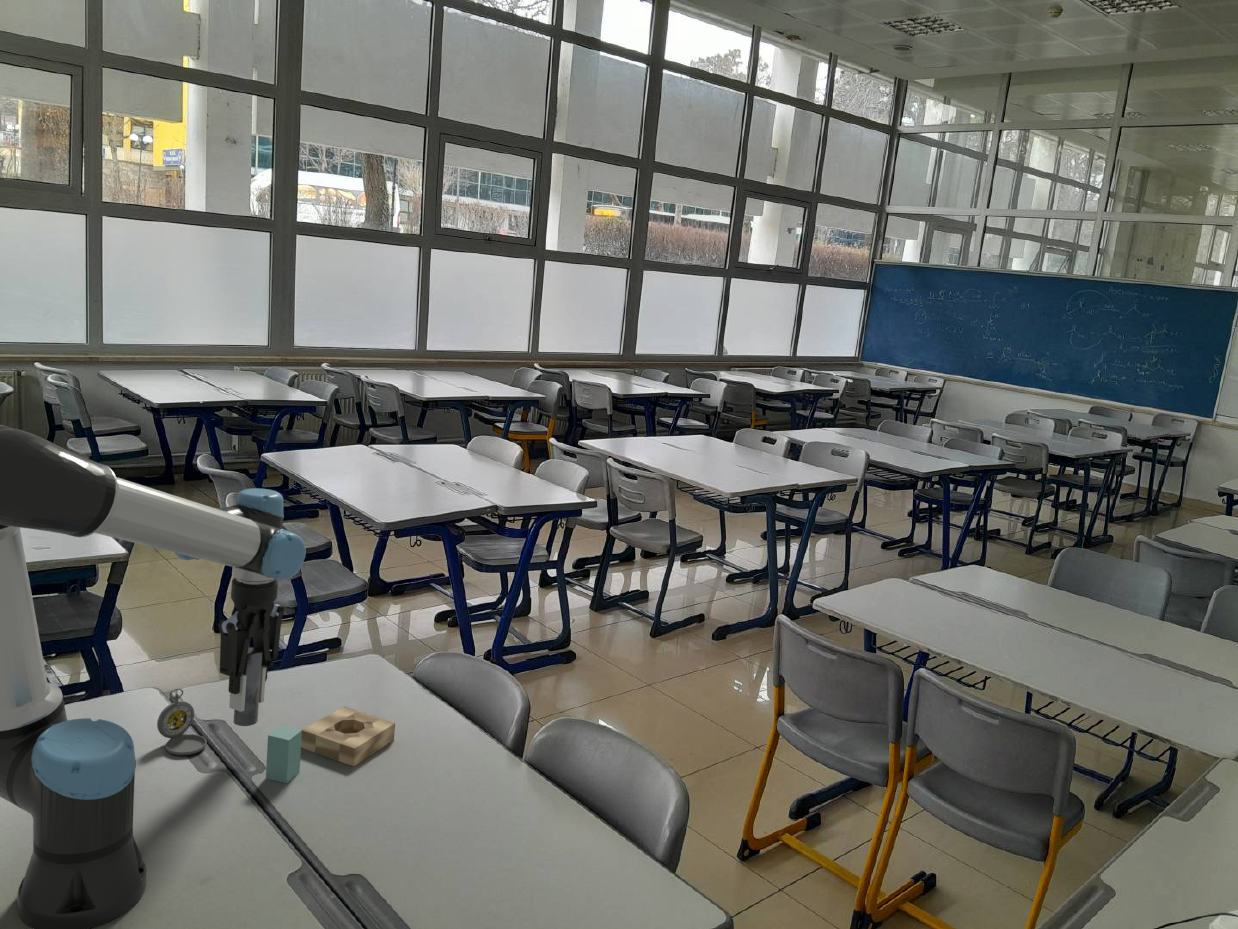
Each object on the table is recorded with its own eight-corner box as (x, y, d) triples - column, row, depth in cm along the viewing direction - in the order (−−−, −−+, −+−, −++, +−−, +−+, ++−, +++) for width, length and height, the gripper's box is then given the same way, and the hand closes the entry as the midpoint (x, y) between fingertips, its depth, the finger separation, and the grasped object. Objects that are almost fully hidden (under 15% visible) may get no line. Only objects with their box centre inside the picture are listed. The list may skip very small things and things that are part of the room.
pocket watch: (195, 759, 162) (197, 706, 160) (148, 754, 162) (149, 701, 160) (216, 737, 170) (218, 687, 169) (171, 732, 170) (173, 681, 169)
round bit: (245, 728, 162) (250, 658, 160) (228, 722, 163) (233, 652, 161) (262, 720, 165) (267, 651, 163) (245, 714, 167) (250, 645, 165)
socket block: (353, 766, 166) (354, 748, 165) (300, 747, 170) (301, 730, 170) (393, 740, 177) (395, 723, 176) (343, 722, 181) (344, 706, 181)
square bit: (286, 783, 158) (289, 740, 157) (265, 778, 159) (268, 735, 158) (299, 772, 162) (302, 730, 161) (279, 767, 163) (281, 725, 162)
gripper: (234, 594, 151) (225, 727, 155) (306, 572, 167) (296, 694, 170) (200, 583, 154) (192, 715, 157) (273, 563, 169) (265, 684, 173)
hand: (246, 704), depth 164 cm, fingers closed on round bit, 4 cm apart
